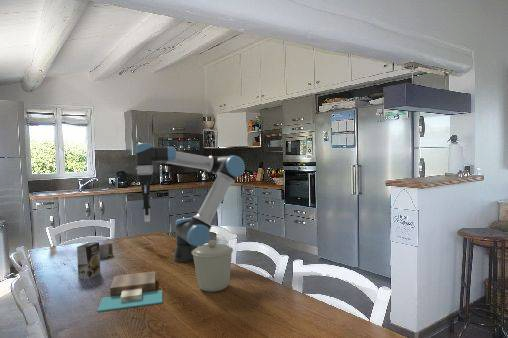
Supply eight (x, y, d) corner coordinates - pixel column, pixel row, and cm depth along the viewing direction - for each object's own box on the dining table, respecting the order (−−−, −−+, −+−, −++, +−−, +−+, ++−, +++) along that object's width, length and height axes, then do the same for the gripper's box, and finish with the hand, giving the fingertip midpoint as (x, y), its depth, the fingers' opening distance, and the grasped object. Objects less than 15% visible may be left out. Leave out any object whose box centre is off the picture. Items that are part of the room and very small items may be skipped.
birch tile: (142, 292, 151) (141, 287, 151) (141, 299, 143) (141, 294, 143) (122, 295, 149) (122, 290, 149) (120, 302, 141) (120, 297, 141)
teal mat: (162, 291, 153) (162, 290, 153) (162, 303, 140) (162, 301, 140) (102, 298, 147) (102, 297, 147) (97, 311, 134) (97, 310, 134)
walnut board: (155, 279, 168) (155, 271, 168) (155, 291, 152) (154, 282, 152) (115, 284, 163) (115, 275, 163) (110, 297, 148) (110, 287, 148)
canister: (240, 282, 160) (238, 236, 160) (224, 297, 143) (222, 246, 143) (204, 278, 166) (203, 234, 166) (185, 293, 149) (183, 244, 148)
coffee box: (89, 279, 171) (87, 246, 171) (77, 279, 172) (76, 246, 172) (101, 273, 180) (99, 242, 179) (90, 273, 181) (88, 241, 181)
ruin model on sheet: (93, 260, 205) (92, 244, 205) (91, 259, 207) (91, 243, 207) (113, 256, 213) (112, 240, 212) (111, 255, 215) (110, 239, 215)
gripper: (138, 174, 180) (140, 219, 181) (136, 175, 168) (138, 224, 169) (153, 173, 182) (155, 218, 183) (152, 174, 170) (154, 223, 170)
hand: (147, 221), depth 176 cm, fingers closed
